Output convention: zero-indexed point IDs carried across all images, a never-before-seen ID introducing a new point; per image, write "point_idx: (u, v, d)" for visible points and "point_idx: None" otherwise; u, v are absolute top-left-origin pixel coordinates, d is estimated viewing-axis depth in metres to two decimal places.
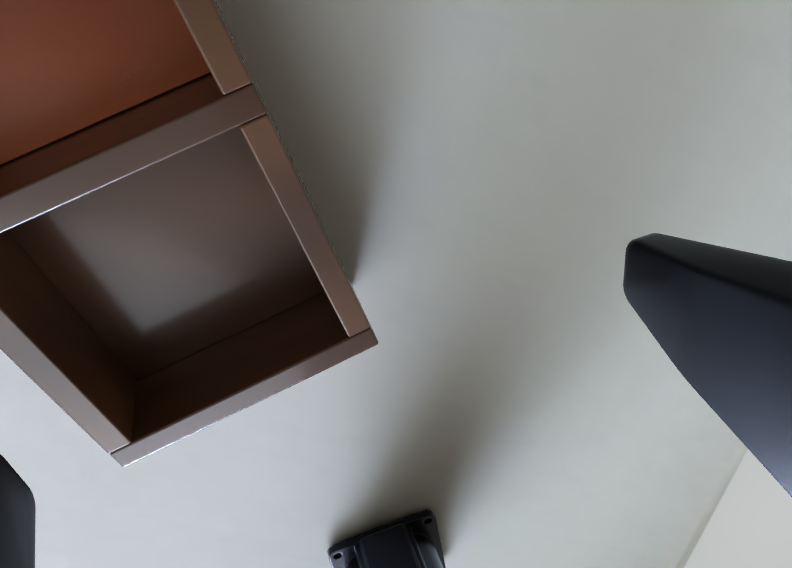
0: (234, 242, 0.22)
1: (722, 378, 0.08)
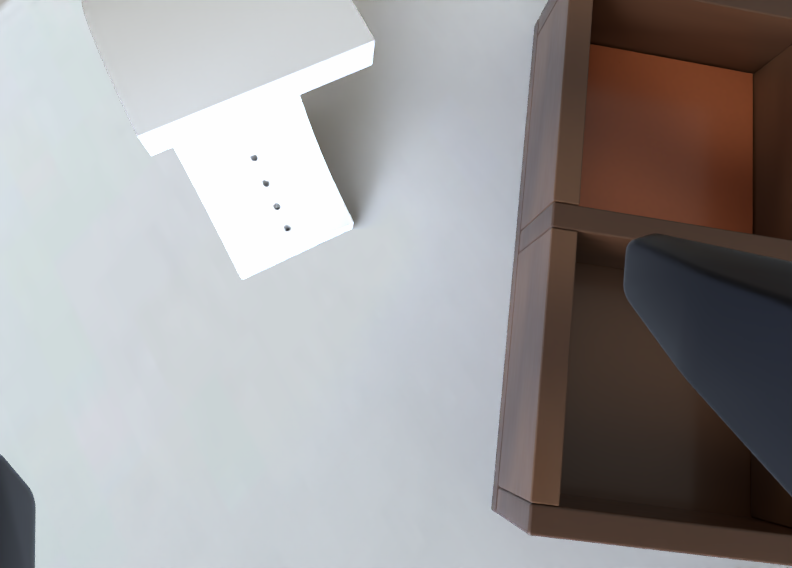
0: (691, 405, 0.22)
1: (722, 378, 0.08)
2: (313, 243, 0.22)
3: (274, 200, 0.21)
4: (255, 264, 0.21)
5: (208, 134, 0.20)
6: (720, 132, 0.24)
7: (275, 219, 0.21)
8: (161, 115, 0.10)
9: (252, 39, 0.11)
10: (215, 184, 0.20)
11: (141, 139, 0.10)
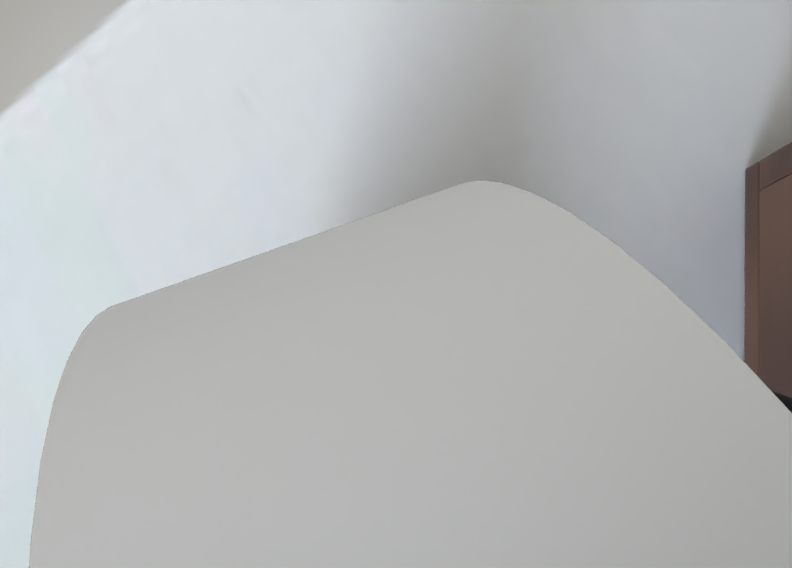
0: None
1: None
2: None
3: None
4: None
5: None
6: None
7: None
8: None
9: None
10: None
11: None
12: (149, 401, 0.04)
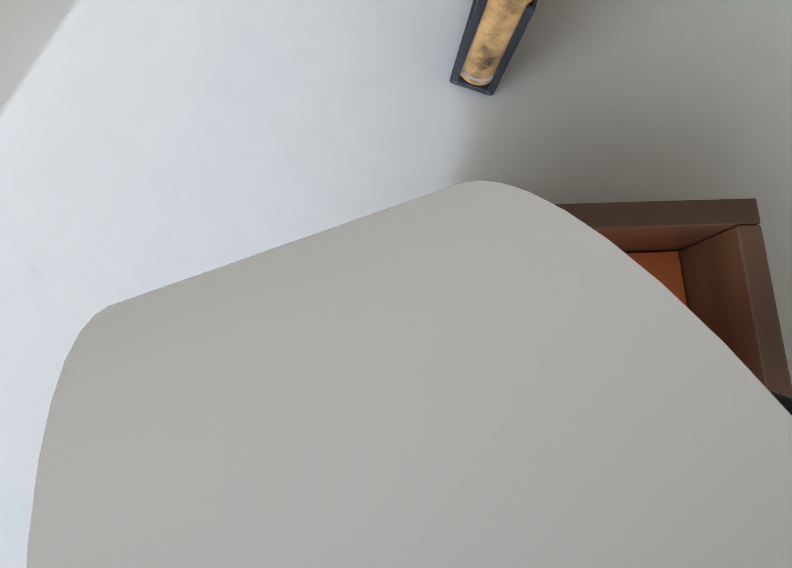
0: None
1: None
2: None
3: None
4: None
5: None
6: None
7: None
8: None
9: None
10: None
11: None
12: (148, 400, 0.04)
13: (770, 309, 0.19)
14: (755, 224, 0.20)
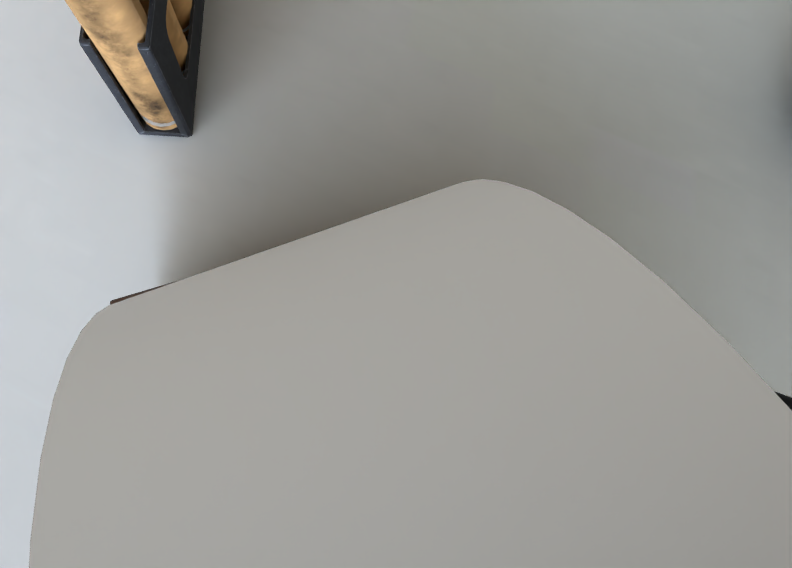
0: None
1: None
2: None
3: None
4: None
5: None
6: None
7: None
8: None
9: None
10: None
11: None
12: (150, 398, 0.04)
13: None
14: None
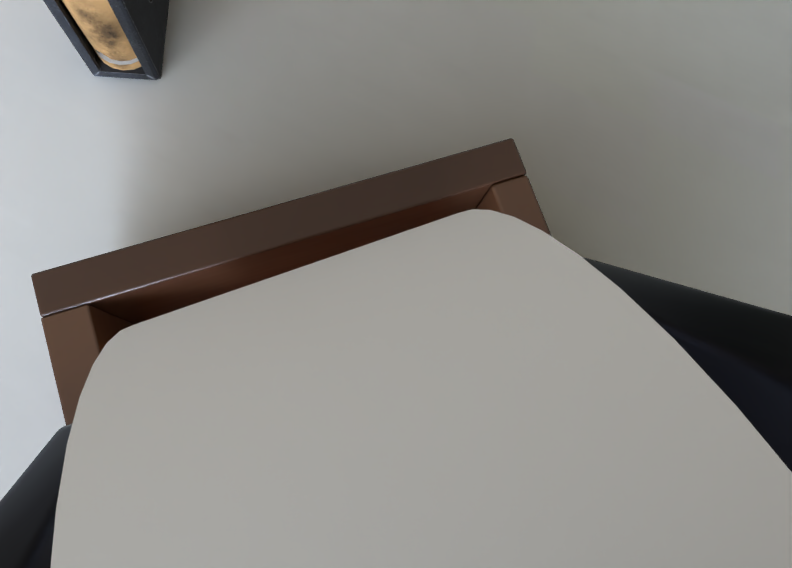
0: None
1: None
2: None
3: None
4: None
5: None
6: None
7: None
8: None
9: None
10: None
11: None
12: (163, 447, 0.04)
13: None
14: (520, 176, 0.13)
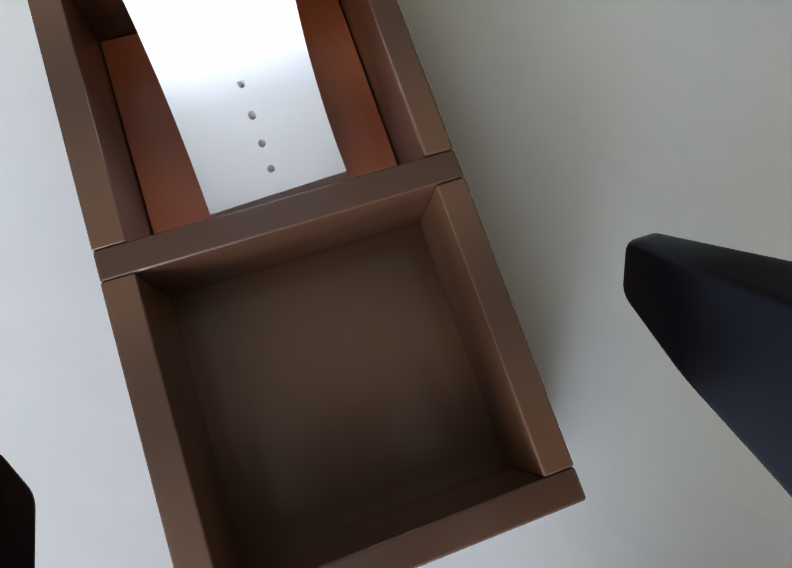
0: (400, 378, 0.19)
1: (722, 378, 0.08)
2: (299, 190, 0.19)
3: (260, 136, 0.19)
4: (230, 204, 0.19)
5: (190, 48, 0.17)
6: (321, 68, 0.21)
7: (258, 157, 0.19)
8: None
9: None
10: (194, 109, 0.18)
11: None
12: None
13: None
14: None
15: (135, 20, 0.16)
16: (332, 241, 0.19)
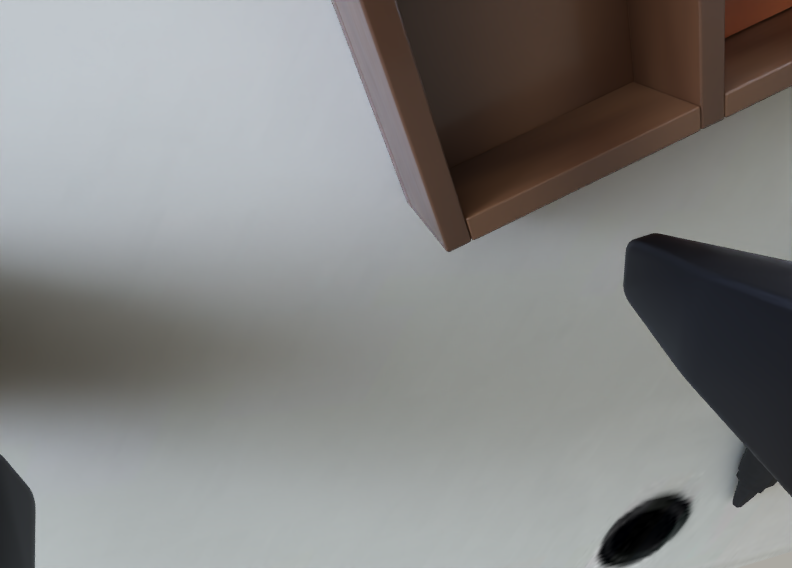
0: (504, 74, 0.20)
1: (722, 378, 0.08)
2: None
3: None
4: None
5: None
6: None
7: None
8: None
9: None
10: None
11: None
12: None
13: None
14: None
15: None
16: None
